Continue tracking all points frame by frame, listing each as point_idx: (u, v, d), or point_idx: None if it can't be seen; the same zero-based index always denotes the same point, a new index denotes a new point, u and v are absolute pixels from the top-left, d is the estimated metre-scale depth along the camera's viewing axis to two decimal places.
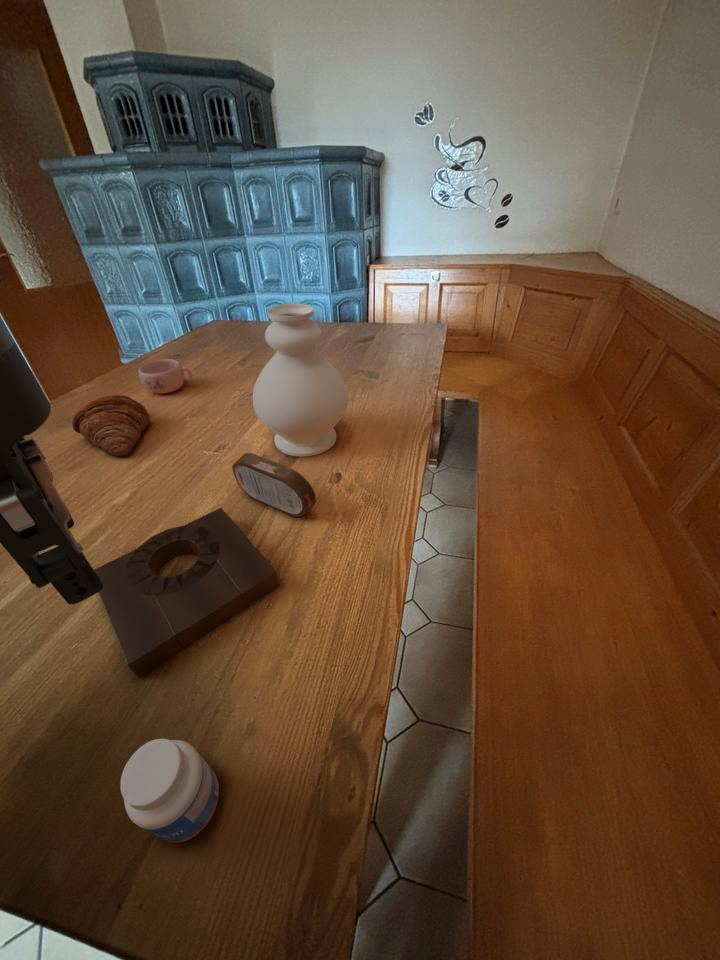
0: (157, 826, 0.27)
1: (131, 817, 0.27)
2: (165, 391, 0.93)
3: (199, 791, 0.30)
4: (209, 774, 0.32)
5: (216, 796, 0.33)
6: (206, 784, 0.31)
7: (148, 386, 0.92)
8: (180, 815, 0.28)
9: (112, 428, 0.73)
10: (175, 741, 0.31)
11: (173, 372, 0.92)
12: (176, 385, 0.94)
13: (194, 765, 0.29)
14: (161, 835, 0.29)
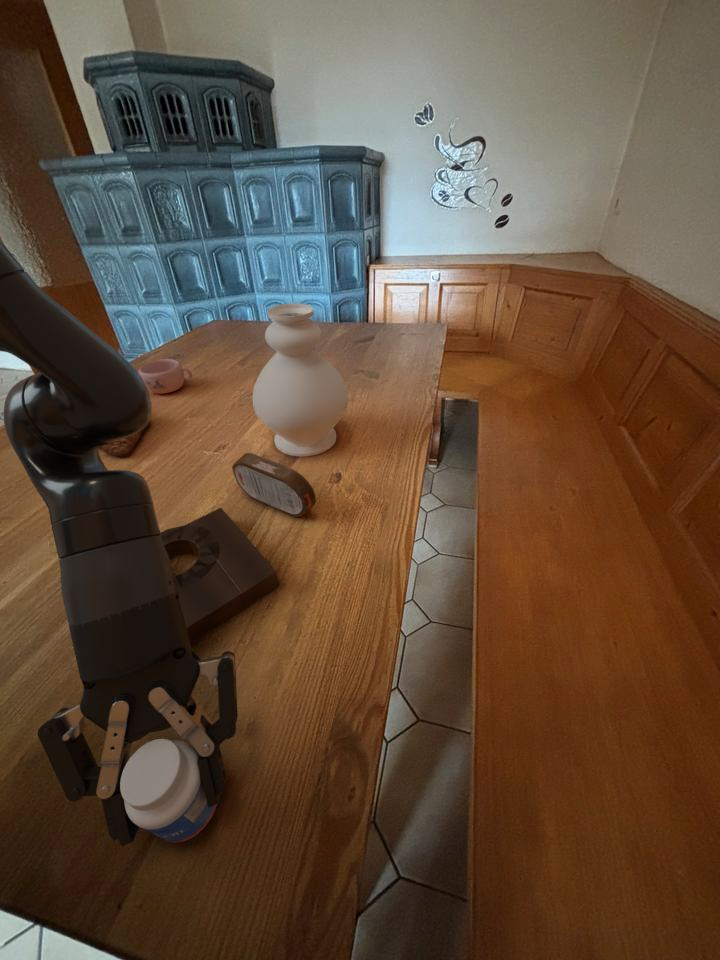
0: (157, 826, 0.27)
1: (131, 817, 0.27)
2: (165, 391, 0.93)
3: (199, 792, 0.29)
4: None
5: None
6: None
7: (148, 386, 0.92)
8: (180, 816, 0.28)
9: None
10: (175, 741, 0.31)
11: (173, 372, 0.92)
12: (176, 385, 0.94)
13: (194, 765, 0.29)
14: (161, 835, 0.29)
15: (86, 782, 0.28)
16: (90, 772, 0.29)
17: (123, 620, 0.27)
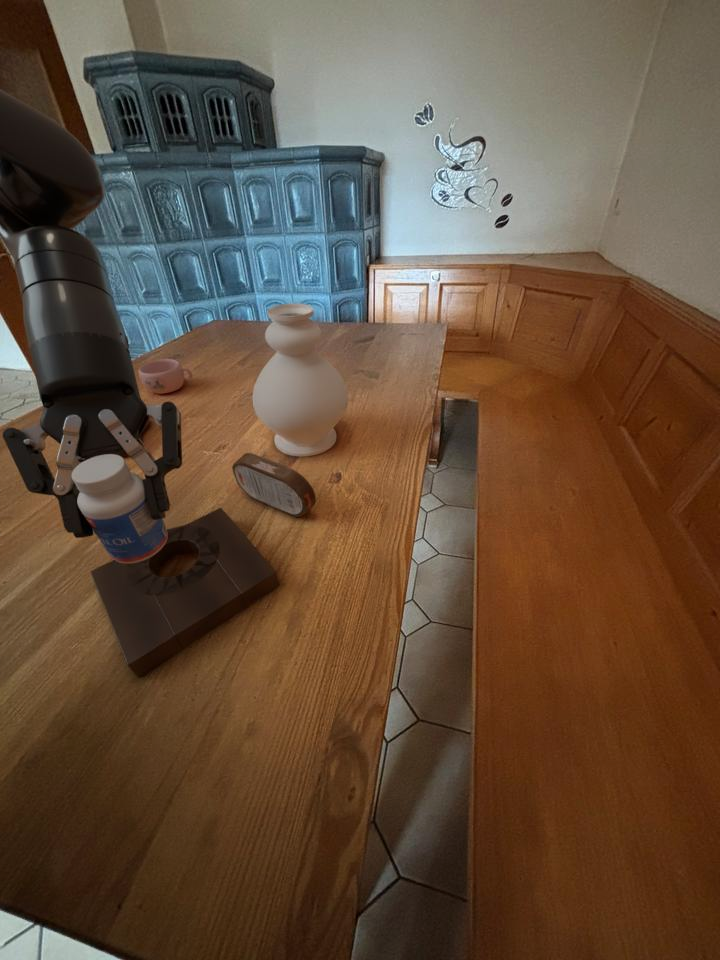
0: (104, 514, 0.32)
1: (82, 507, 0.32)
2: (165, 391, 0.93)
3: (144, 505, 0.34)
4: None
5: (164, 535, 0.38)
6: None
7: (148, 386, 0.92)
8: (125, 514, 0.33)
9: None
10: None
11: (173, 372, 0.92)
12: (176, 385, 0.94)
13: (139, 482, 0.34)
14: (110, 539, 0.34)
15: (44, 483, 0.33)
16: None
17: (75, 339, 0.32)
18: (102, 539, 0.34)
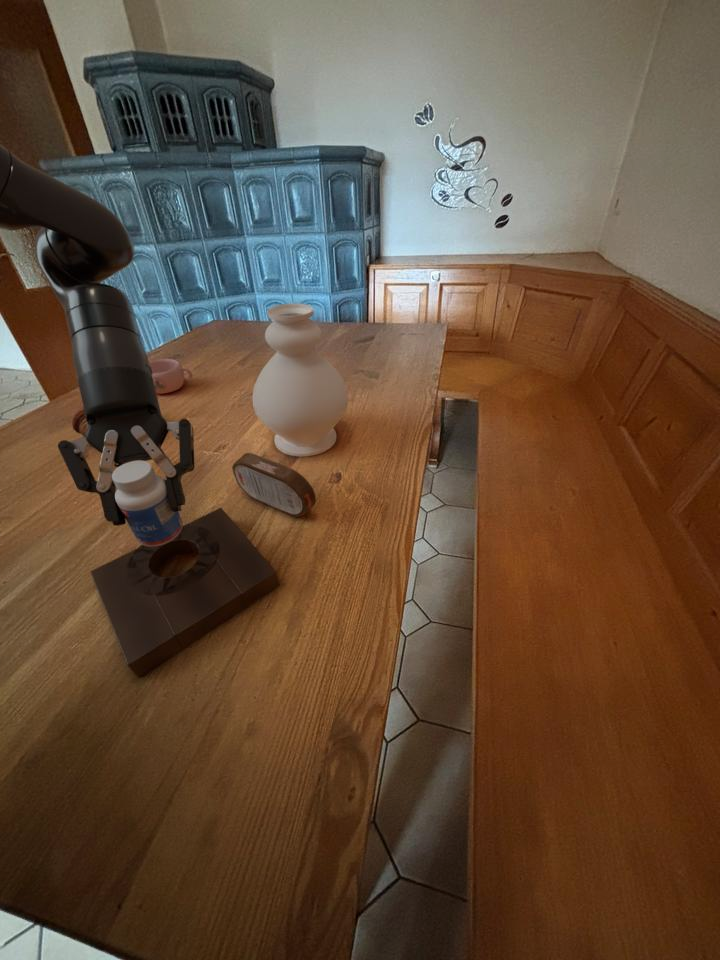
0: (136, 507, 0.42)
1: (119, 501, 0.42)
2: (165, 391, 0.93)
3: (165, 500, 0.44)
4: None
5: (180, 524, 0.47)
6: None
7: None
8: (152, 506, 0.42)
9: None
10: None
11: (173, 372, 0.92)
12: (176, 385, 0.94)
13: (162, 482, 0.44)
14: (140, 526, 0.43)
15: (89, 483, 0.42)
16: None
17: (114, 372, 0.42)
18: (133, 526, 0.44)
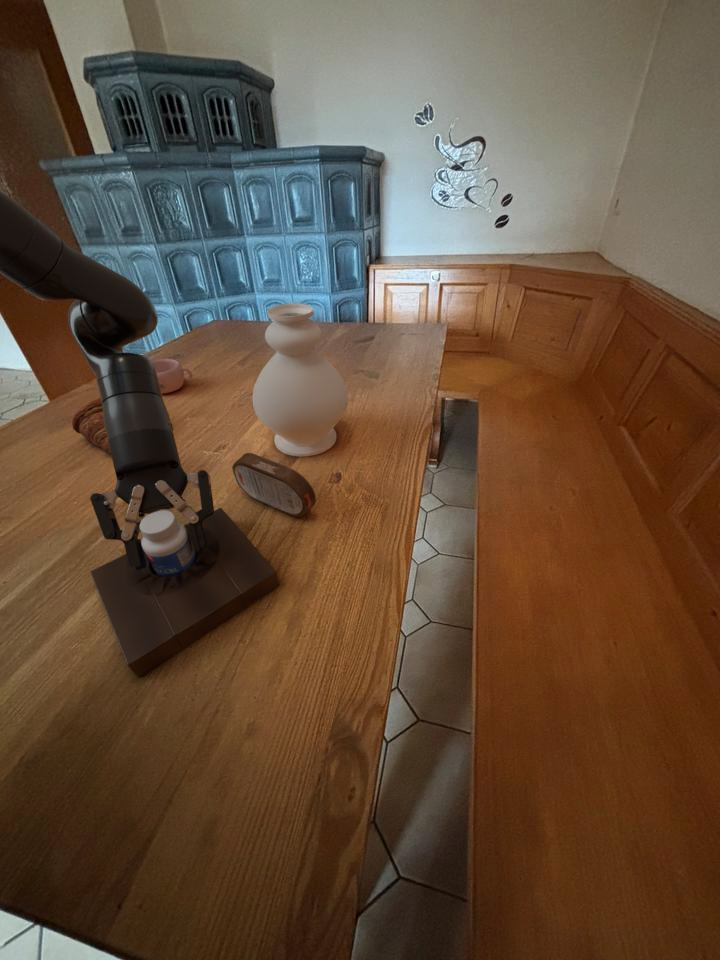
0: (161, 553, 0.47)
1: (145, 548, 0.47)
2: (165, 391, 0.93)
3: (186, 545, 0.49)
4: None
5: None
6: (190, 546, 0.50)
7: None
8: (174, 552, 0.47)
9: None
10: None
11: (173, 372, 0.92)
12: (176, 385, 0.94)
13: (183, 529, 0.49)
14: (163, 569, 0.48)
15: (114, 532, 0.47)
16: (117, 529, 0.48)
17: (141, 434, 0.47)
18: (157, 569, 0.49)
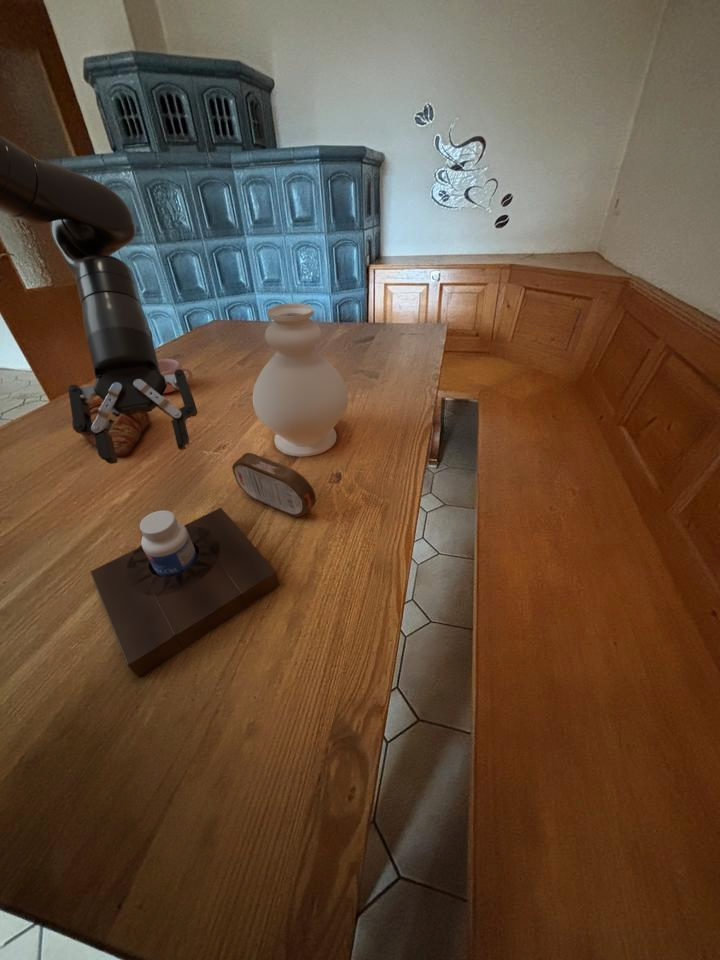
0: (161, 553, 0.47)
1: (145, 548, 0.47)
2: (165, 391, 0.93)
3: (186, 545, 0.49)
4: None
5: None
6: (190, 546, 0.50)
7: None
8: (174, 552, 0.47)
9: (112, 428, 0.73)
10: None
11: (173, 372, 0.92)
12: None
13: (183, 529, 0.49)
14: (163, 569, 0.48)
15: (85, 424, 0.48)
16: None
17: (118, 331, 0.48)
18: (157, 569, 0.49)
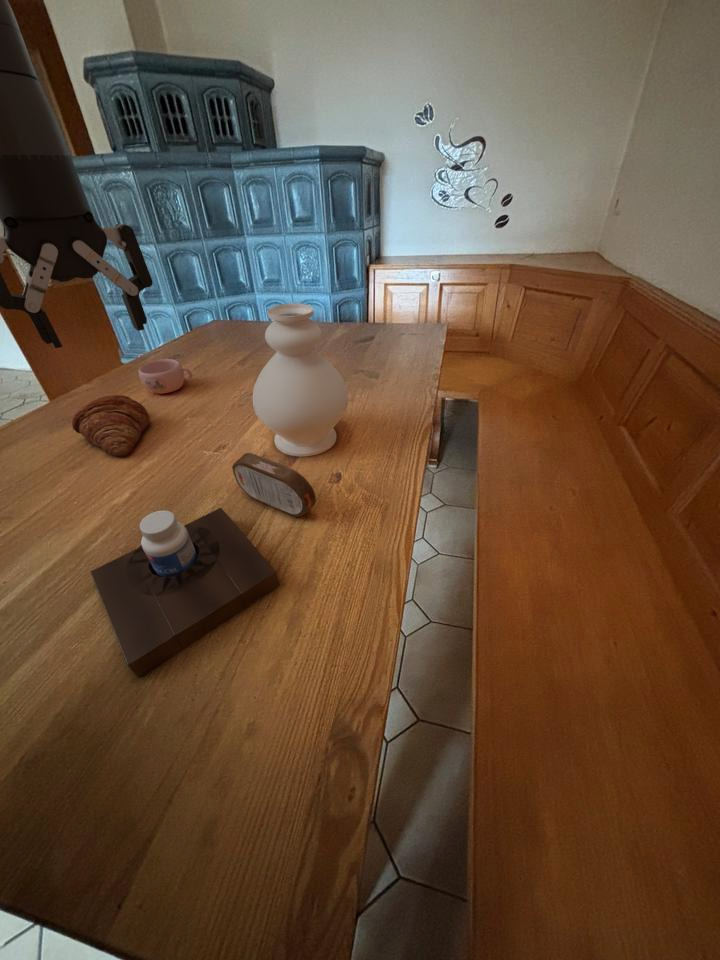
0: (161, 553, 0.47)
1: (145, 548, 0.47)
2: (165, 391, 0.93)
3: (186, 545, 0.49)
4: None
5: None
6: (190, 546, 0.50)
7: (148, 386, 0.92)
8: (174, 552, 0.47)
9: (112, 428, 0.73)
10: None
11: (173, 372, 0.92)
12: (176, 385, 0.94)
13: (183, 529, 0.49)
14: (163, 569, 0.48)
15: (11, 299, 0.37)
16: None
17: (43, 164, 0.33)
18: (157, 569, 0.49)
